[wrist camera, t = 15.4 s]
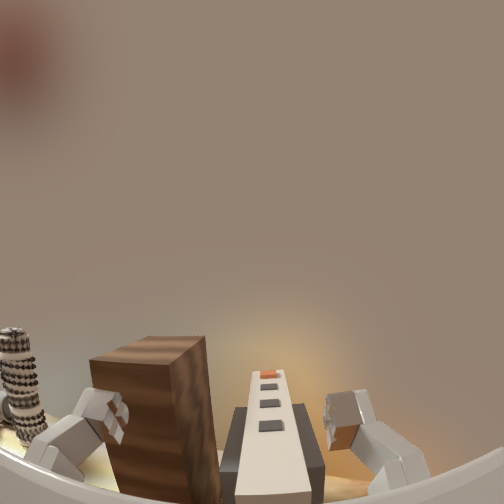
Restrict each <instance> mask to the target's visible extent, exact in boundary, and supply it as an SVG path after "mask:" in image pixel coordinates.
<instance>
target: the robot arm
mask: <svg viewBox="0 0 504 504" xmlns="http://www.w3.org/2000/svg"><path fill="white" fill-rule="evenodd" d="M121 400H122V397H121V395H120V393H118V392H112V391H106V390H100V389H95V388H89V387H87V388H86V389H85V390H84V392H83V393H82V395H81V398H80V399H79V401H78V403H77V405H76V408H75V409H74V411H73V413H72V415H71V414H69V415H67V416H66V417H64V418H63V419H61V420H60V421H58V422H57V423H55V424H54V425H52V426H51V427H49V428H48V429H46V430H45V431H43V432H42V433H40V434H39V435H37V436H36V437H34V438H33V440H32V442H31V444H30V446H29V448H28V450H27V452H26V454H25V456H24V458H23V459H22V458H20V457H18V456H16V455H14V454H12V453H10V452H8V451H6V450H4V449H2V448H0V504H176V503H169V502H162V501H156V500H151V499H145V498H140V497H135V496H131V495H126V494H122V493H118V492H114V491H110V490H106V489H103V488H99V487H96V486H93V485H89V484H86V483H83V481H84V478H85V476H84V474H83V473H82V472H81V471H80V470H79V469H78V468H77V467H78V466H79V465H80V464H81V463H82V462H83V461H84V460H85V459H86V458H88V457H89V456H90V455H91V454H92V453H93V452H94V451H95V450H96V449H97V448H98V447H99V446H100V445H101V444H102V443H103V442H105V443H111V444H116V445H120V443H121V440H122V438H123V435H124V432H123V429H122V428H123V427H125V426H126V425H127V423H128V419H129V411H128V408H127V406H126V404H125V403H123V402H122V401H121ZM326 404H327V405H326V406H325V407H324V416H323V418H324V426H325V429H326V430H327V431H328V433H327V443H328V448H329V451H335V450H343V449H350V450H351V451H352V452H353V453H354V454H355V455H356V456H357V457H358V458H359V459H360V460H361V461H362V462H363V463H364V464H365V465H366V466H367V467H368V468H369V469H370V470H371V471H372V472H373V473H374V474H375V475H376V477H375V478H374V480H373V481H372V483H371V484H370V485H369V487H368V488H367V490H368V496H364V497H359V498H354V499H349V500H343V501H337V502H330V503H323V504H504V447H500V448H498V449H495V450H494V451H492V452H490V453H488V454H486V455H484V456H482V457H480V458H477V459H475V460H473V461H471V462H469V463H467V464H464V465H462V466H460V467H457V468H455V469H452V470H450V471H447V472H445V473H442V474H439V475H437V476H434V477H431V475H430V472H429V469H428V466H427V463H426V461H425V458H424V455H423V452H422V451H421V450H420V449H418V448H417V447H415V446H414V445H413V444H411V443H410V442H409V441H407V440H406V439H404V438H403V437H402V436H400V435H399V434H398V433H397V432H395V431H394V430H392V429H391V428H390V427H388V426H387V425H386V424H385V423H383V422H382V421H377V418H376V415H375V412H374V409H373V406H372V403H371V401H370V398H369V395H368V392H367V390H366V389H362V390H356V391H347V392H340V393H333V394H328V395H327V396H326Z"/></svg>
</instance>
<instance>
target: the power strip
mask: <svg viewBox="0 0 504 504" xmlns="http://www.w3.org/2000/svg"><path fill="white" fill-rule="evenodd" d="M311 494H312V490H311V486H310V482H309V477H308V473H307V469H306V464H305V460H304V456H303V451H302V447H301V443H300V439H299V434H298V430H297V426H296V421H295V417H294V413H293V409H292V404H291V400H290V396H289V392H288V387H287V383H286V379H285V375H284V370H269V371H255V372H253V373H252V380H251V388H250V395H249V402H248V409H247V416H246V423H245V430H244V437H243V443H242V450H241V457H240V463H239V470H238V477H237V483H236V489H235V502H236V504H311Z"/></svg>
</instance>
